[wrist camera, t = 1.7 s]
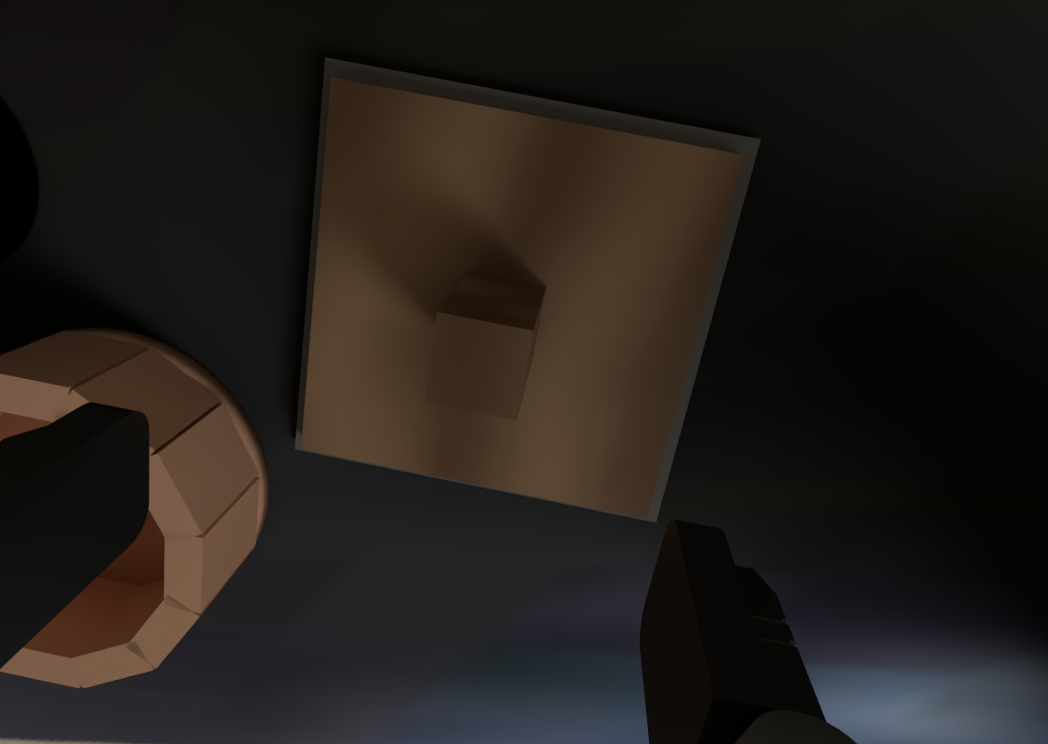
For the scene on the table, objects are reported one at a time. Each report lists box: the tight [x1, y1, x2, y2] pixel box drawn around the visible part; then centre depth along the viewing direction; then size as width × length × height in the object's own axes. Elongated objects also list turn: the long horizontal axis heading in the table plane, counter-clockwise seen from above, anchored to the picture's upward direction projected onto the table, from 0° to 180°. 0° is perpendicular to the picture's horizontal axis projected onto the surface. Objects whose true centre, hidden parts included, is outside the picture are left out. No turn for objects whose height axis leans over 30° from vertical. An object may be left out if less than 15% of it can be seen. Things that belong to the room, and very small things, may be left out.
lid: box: [301, 77, 744, 519], centre depth 21 cm, size 12×12×6 cm
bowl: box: [0, 327, 269, 688], centre depth 25 cm, size 11×11×5 cm
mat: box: [295, 57, 761, 522], centre depth 24 cm, size 13×13×1 cm
